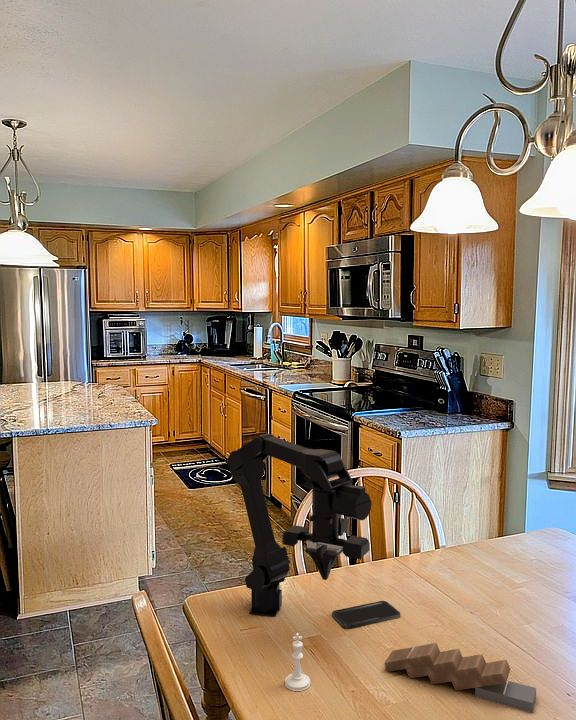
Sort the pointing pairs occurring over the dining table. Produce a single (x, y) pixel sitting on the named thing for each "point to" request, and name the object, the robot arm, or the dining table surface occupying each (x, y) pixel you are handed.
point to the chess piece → (297, 669)
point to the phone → (365, 614)
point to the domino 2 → (438, 664)
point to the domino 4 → (486, 676)
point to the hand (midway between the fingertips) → (325, 579)
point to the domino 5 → (509, 695)
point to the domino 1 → (412, 657)
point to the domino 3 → (462, 670)
